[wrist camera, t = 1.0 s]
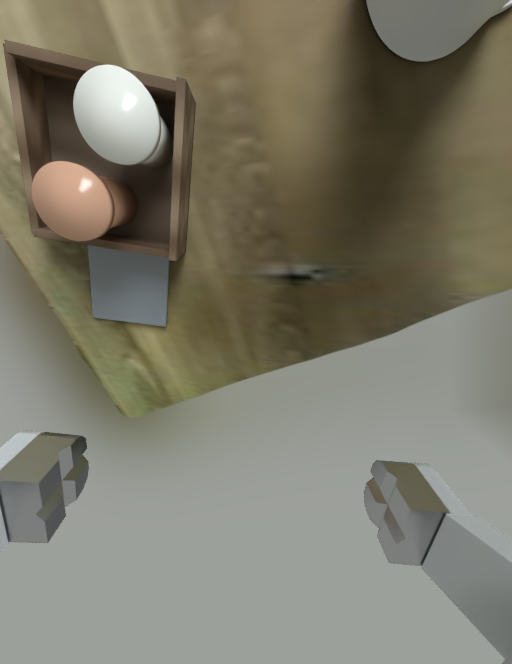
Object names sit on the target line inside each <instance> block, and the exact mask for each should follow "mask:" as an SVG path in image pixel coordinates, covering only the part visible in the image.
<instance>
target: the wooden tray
mask: <svg viewBox="0 0 512 664" xmlns="http://www.w3.org/2000/svg"><path fill="white" fill-rule="evenodd" d="M3 47H4V54H5V60H6V67H7V74H8V80H9V87H10V93H11V100H12V106H13V113H14V120H15V126H16V133H17V139H18V146H19V153H20V159H21V166H22V172H23V179H24V185H25V192H26V199H27V205H28V212H29V218H30V225H31V231H32V234H33V235H34V237H40V238H46V239H52V240H59V241H65V242H71V243H78V244H84V245H90V246H97V247H103V248H109V249H115V250H122V251H128V252H134V253H141V254H147V255H153V256H160V257H166V258H169V260H172V261H177V260H178V259H179V258H180V257H181V256H182V255H183V254H184V253H185V252H186V240H187V225H188V210H189V195H190V180H191V165H192V150H193V136H194V121H195V106H196V103H195V100H194V98H193V95H192V93H191V91H190V88H189V86H188V83H187V81H186V79H182V78H178V77H177V79H176V81H175V80H170V79H166V78H162V77H158V76H154V75H150V74H145V73H141V72H137V71H133V70H129V69H125V68H123V69H125V70H127V71H128V72H130V73H131V74H133V75H134V76H135V77H136V78H137V79H138V80H139V81H140V82H141V83H142V84H143V85H144V86H145V88H146V89H147V90H148V92H149V93H150V94H151V96H152V98H153V99H154V101H155V103H156V105H157V108H158V111H159V114H160V116H161V117H162V118H163V119H164V120H165V122H166V123H167V124H168V125H169V127H170V129H171V131H172V133H173V136H174V149H173V156H172V158H171V160H170V161H169V162H168V163H167V164H166V165H164V166H163V167H160V168H150V167H146V166H144V165H141V164H138V165H133V166H127V165H121V164H117V163H114V162H111V161H109V160H107V159H105V158H103V157H101V156H100V155H99V154H97V153H96V152H95V151H94V150H93V149H92V148H91V147H90V146H89V145H88V143H87V142H86V141H85V139H84V138H83V136H82V134H81V132H80V130H79V128H78V126H77V123H76V119H75V115H74V108H73V100H74V93H75V89H76V86H77V84H78V82H79V80H80V78H81V77H82V76H83V75H84V74H85V73H86V72H87V71H88V70H90V69H91V68H93V67H96V66H99V65H108V64H104V63H100V62H95V61H91V60H87V59H83V58H79V57H75V56H70V55H66V54H62V53H58V52H54V51H49V50H45V49H41V48H37V47H33V46H29V45H24V44H20V43H16V42H12V41H8V40H5V44H4V43H3ZM55 161H66V162H71V163H76V164H79V165H82V166H85V167H87V168H89V169H90V170H92V171H93V172H95V173H96V174H97V175H99V176H105V177H110V178H116V179H119V180H121V181H123V182H125V183H126V184H127V185H128V186H130V188H131V189H132V190H133V191H134V193H135V195H136V198H137V201H138V212H137V215H136V217H135V218H134V220H133V221H132V222H130V223H129V224H126V225H123V226H118V227H114V228H110V229H109V230H108V231H107V232H106V233H105V234H104V235H102V236H100V237H98V238H95V239H92V240H88V241H74V240H70V239H67V238H64V237H62V236H60V235H58V234H57V233H55V232H54V231H53V230H51V229H50V228H49V227H48V226H47V225H46V224H45V223H44V222H43V220H42V219H41V218H40V216H39V214H38V213H37V211H36V209H35V206H34V203H33V199H32V183H33V179H34V177H35V175H36V173H37V172H38V171H39V169H40V168H42V167H43V166H44V165H46V164H48V163H51V162H55Z"/></svg>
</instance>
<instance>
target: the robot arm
mask: <svg viewBox="0 0 512 664" xmlns="http://www.w3.org/2000/svg"><path fill="white" fill-rule="evenodd" d="M366 2H367V7H368V11H369V14H370V18H371V20H372V23H373V25H374V27H375V30H376V31H377V33H378V35H379V37H380V38H381V40H382V41H383V42H384V43H385V45H386V46H387V47H388V48H389V49H390V50H392V51H393V52H394V53H396V54H397V55H399V56H401V57H403V58H405V59H408V60H412V61H419V62H424V61H432V60H436V59H439V58H442V57H444V56H446V55H448V54H450V53H452V52H453V51H455V50H456V49H458V48H459V47H461V46H462V45H463V44H464V43H465V42H467V41H468V40H469V39H470V38H471V37H472V36H473V35H474V33H475V32H476V31H477V30H478V29H479V28H480V27H481V26H482V25H483V24H484V23H485V22H486V21H487V20H488V19H489V18H491V17H493V16H495V15H497V14H499V13H501V12H503V11H504V10H506V9H508V8H509V7H511V6H512V0H366ZM86 449H87V443H86V438H85V437H83V436H78V435H69V434H60V433H50V432H37V431H28V430H25V431H22V432H19V433H17V434H16V435H15V436H14V437H13V438H11V439H10V440H9V441H8V442H7V443H5V444H4V445H3V446H2V447H1V448H0V550H2V549H3V548H5V547H6V546H7V545H8V544H9V542H27V543H28V542H29V543H48V542H49V541H50V539H51V537H52V536H53V535H54V533H55V531H56V530H57V529H58V527H59V525H60V524H61V523H62V521H63V519H64V518H65V516H66V513H65V507H66V506H68V505H69V504H70V503H72V502H74V501H75V500H77V498H78V496H79V495H80V493H81V492H82V490H83V488H84V485H85V483H86V480H87V477H88V470H89V465H88V461H87V459H86V458H85V457H84V456H83V455H82V454H83V453H84V452H85V450H86ZM371 473H372V475H373V478H372V479H371V480H370V481H368V482H367V483H366V487H365V491H364V503H365V507H366V511H367V513H368V516H369V518H370V520H371V521H372V522H373V523H374V524H375V525H376V526H377V527H378V528H379V531H378V535H377V537H378V539H379V542H380V544H381V546H382V548H383V551H384V553H385V555H386V557H387V560H388V562H389V563H394V564H404V565H415V566H422V569H423V570H424V572H425V573H426V574H427V575H428V576H429V577H430V578H431V579H432V580H433V581H434V582H435V583H436V585H437V586H438V587H439V588H440V589H441V590H442V591H443V592H444V593H445V594H446V595H447V596H448V598H449V599H450V600H451V601H452V602H453V603H454V604H455V605H456V606H457V607H458V608H459V609H460V611H461V612H462V613H463V614H464V615H465V616H466V617H467V618H468V619H469V620H470V621H471V623H472V624H473V625H474V626H475V627H476V628H477V629H478V630H479V631H480V632H481V633H482V634H483V636H484V637H485V638H486V639H487V640H488V641H489V642H490V643H491V644H492V645H493V646H494V648H496V650H497V651H498V652H499V653H500V654H501V655H502V656H503V657H504V658H505V660H504V662H503V663H502V664H512V539H511V538H509V537H508V536H506V535H505V534H504V533H502V532H500V531H499V530H498V529H496V528H495V527H493V526H492V525H490V524H489V523H487V522H486V521H484V520H483V519H481V518H480V517H478V516H474V515H471V514H470V513H469V511H468V510H467V509H466V508H465V507H464V505H463V504H462V503H461V501H460V500H459V499H458V498H457V496H456V495H455V494H454V493H453V492H452V490H451V489H450V488H449V487H448V486H447V484H446V483H445V482H444V480H443V479H442V478H441V477H440V476H439V474H438V473H437V472H436V471H435V469H434V468H433V467H432V466H430V465H429V464H426V463H406V462H393V461H378V460H377V461H375V462H374V463H373V465H372V468H371Z"/></svg>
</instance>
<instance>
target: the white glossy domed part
mask: <svg viewBox="0 0 512 664" xmlns="http://www.w3.org/2000/svg"><path fill="white" fill-rule="evenodd" d="M73 108H74V115H75V119H76V123H77V126H78V128H79V130H80V132H81V134H82V136H83V138H84V139H85V141H86V142H87V143H88V145H89V146H90V147H91V148H92V149H93V150H94V151H95V152H96V153H97V154H99V155H100V156H101V157H103V158H105V159H107V160H109V161H111V162H114V163H117V164H121V165H127V166H133V165H138V164H141V165H144V166H146V167H150V168H160V167H163V166H164V165H166V164H167V163H168V162H169V161H170V160H171V158H172V156H173V149H174V136H173V133H172V131H171V129H170V127H169V125H168V124H167V123H166V122H165V120H164V119H163V118H162V117H161V116H160V114H159V111H158V108H157V105H156V103H155V101H154V99H153V98H152V96H151V94H150V93H149V92H148V90H147V89H146V88H145V86H144V85H143V84H142V83H141V82H140V81H139V80H138V79H137V78H136V77H135V76H134V75H133V74H131V73H130V72H128V71H127V70H125V69H123V68H121V67H117V66H114V65H99V66H96V67H93V68H91V69H90V70H88V71H87V72H86V73H85V74H84V75H83V76H82V77H81V78H80V80H79V82H78V84H77V86H76V89H75V93H74V100H73Z"/></svg>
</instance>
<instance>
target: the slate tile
mask: <svg viewBox="0 0 512 664" xmlns="http://www.w3.org/2000/svg"><path fill="white" fill-rule="evenodd" d="M88 257H89V271H90V284H91V298H92V311H93V317H94V318H101V319H109V320H117V321H125V322H133V323H141V324H149V325H156V326H164V327H166V325H167V313H168V291H169V268H170V260H169V258H166V257H160V256H153V255H147V254H141V253H134V252H128V251H122V250H115V249H109V248H103V247H97V246H90V245H88Z"/></svg>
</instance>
